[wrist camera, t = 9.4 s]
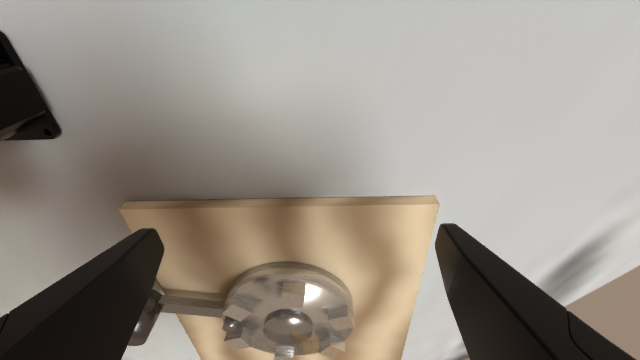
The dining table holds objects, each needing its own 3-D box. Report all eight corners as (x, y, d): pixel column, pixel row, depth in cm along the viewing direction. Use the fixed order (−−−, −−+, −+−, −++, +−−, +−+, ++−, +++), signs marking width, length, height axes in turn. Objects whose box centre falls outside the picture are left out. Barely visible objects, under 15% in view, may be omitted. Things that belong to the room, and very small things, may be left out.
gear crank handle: (365, 270, 25) (371, 318, 22) (340, 340, 32) (342, 386, 28) (121, 243, 24) (84, 290, 20) (148, 322, 31) (124, 368, 27)
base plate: (156, 352, 36) (148, 369, 35) (49, 202, 23) (27, 219, 21) (398, 352, 35) (402, 370, 34) (435, 195, 22) (444, 213, 20)
